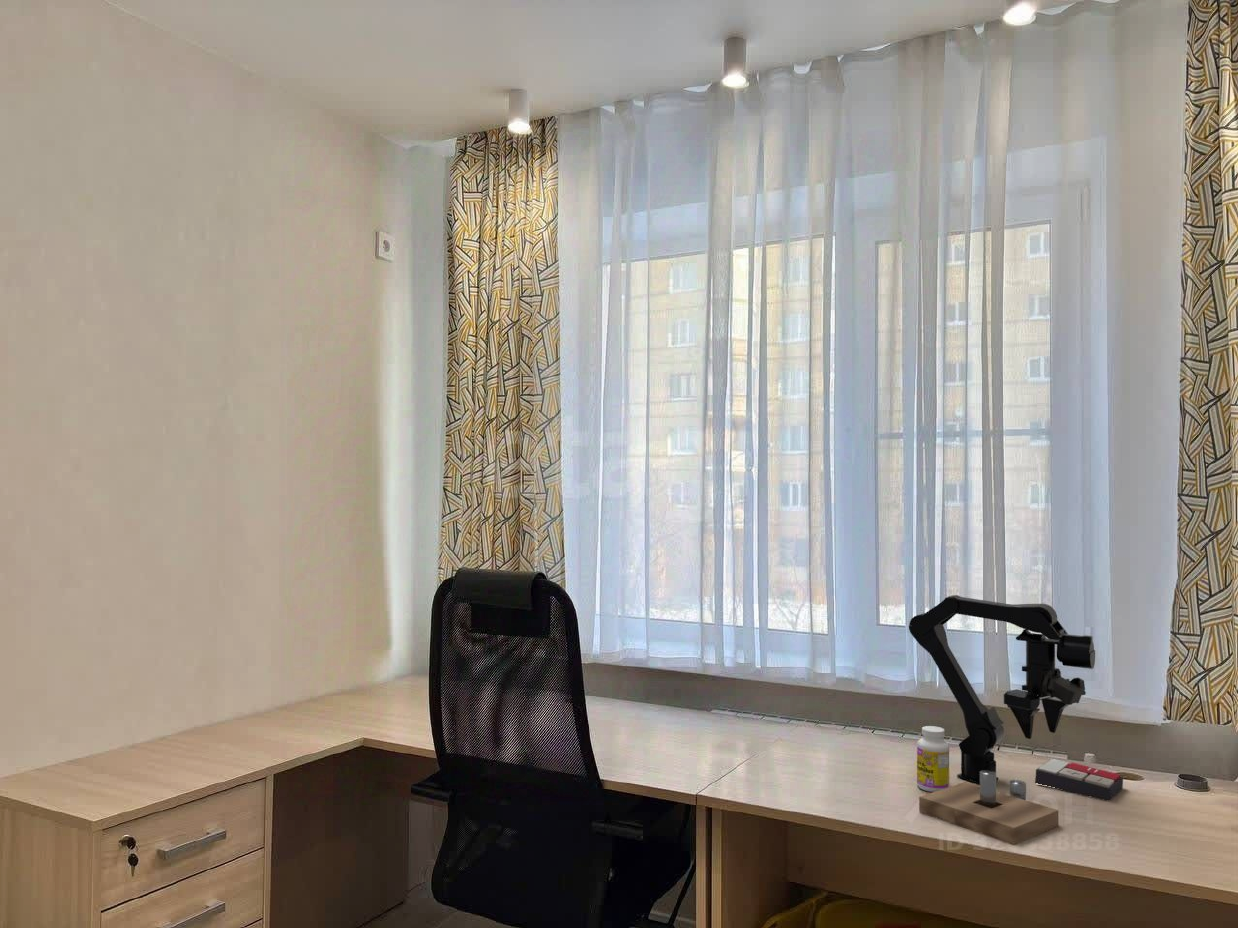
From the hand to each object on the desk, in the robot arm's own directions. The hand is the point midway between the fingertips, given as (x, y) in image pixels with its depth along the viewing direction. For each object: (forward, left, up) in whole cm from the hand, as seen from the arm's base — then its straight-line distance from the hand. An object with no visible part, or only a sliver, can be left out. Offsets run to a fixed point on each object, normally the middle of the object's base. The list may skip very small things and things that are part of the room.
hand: (1040, 735), depth 192 cm
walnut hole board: (+2, -25, -12) cm, 28 cm away
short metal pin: (+1, -12, -12) cm, 17 cm away
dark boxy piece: (+3, +11, -13) cm, 17 cm away
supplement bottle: (-15, -18, -12) cm, 26 cm away
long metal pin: (+2, -25, -12) cm, 27 cm away
